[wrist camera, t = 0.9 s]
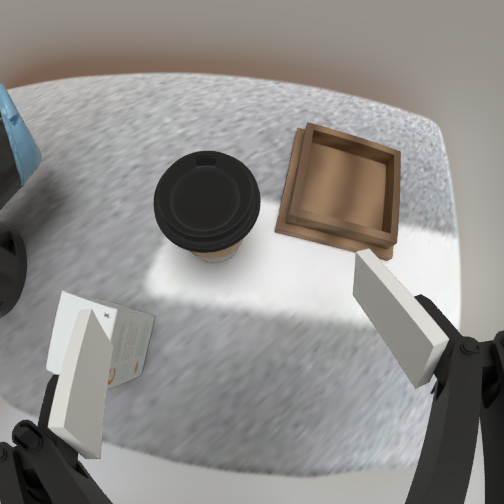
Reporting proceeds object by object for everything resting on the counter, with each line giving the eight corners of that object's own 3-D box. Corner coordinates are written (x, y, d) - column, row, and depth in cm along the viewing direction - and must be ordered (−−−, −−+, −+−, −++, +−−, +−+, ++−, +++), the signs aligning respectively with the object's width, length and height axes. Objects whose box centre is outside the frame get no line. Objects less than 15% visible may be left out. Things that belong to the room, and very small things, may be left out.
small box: (111, 301, 37) (61, 287, 25) (156, 315, 37) (119, 308, 25) (97, 360, 35) (43, 369, 23) (141, 377, 35) (100, 396, 23)
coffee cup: (231, 194, 41) (229, 127, 27) (266, 256, 40) (283, 212, 25) (167, 227, 40) (133, 172, 25) (199, 291, 38) (176, 268, 24)
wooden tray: (274, 231, 40) (279, 220, 36) (296, 133, 44) (301, 115, 40) (387, 260, 40) (402, 252, 36) (393, 162, 44) (406, 148, 40)
